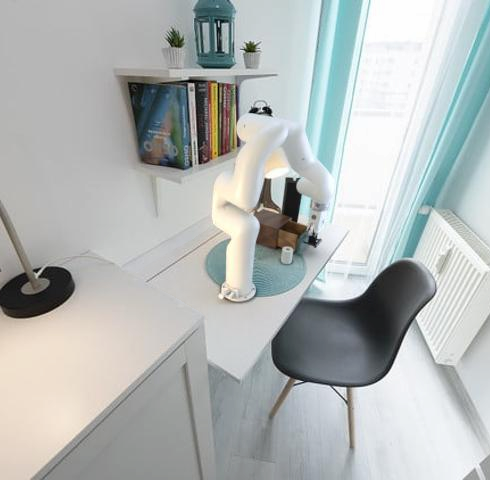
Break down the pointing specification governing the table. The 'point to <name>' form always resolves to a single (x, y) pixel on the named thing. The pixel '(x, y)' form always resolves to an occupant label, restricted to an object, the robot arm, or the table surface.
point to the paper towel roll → (287, 255)
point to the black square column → (291, 198)
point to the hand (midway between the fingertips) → (311, 243)
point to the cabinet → (270, 227)
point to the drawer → (294, 237)
